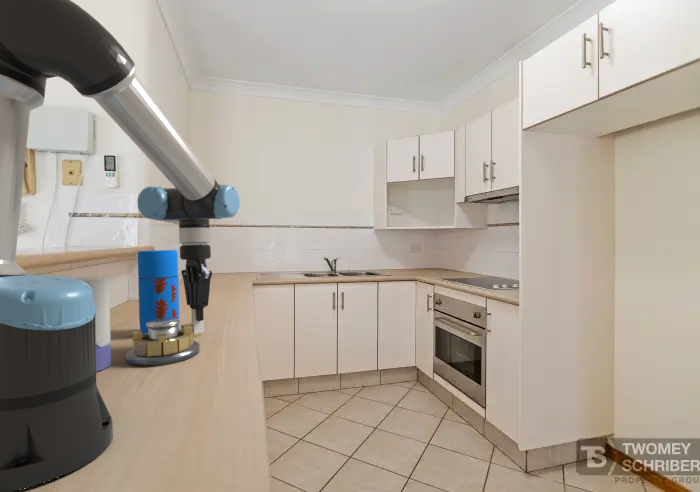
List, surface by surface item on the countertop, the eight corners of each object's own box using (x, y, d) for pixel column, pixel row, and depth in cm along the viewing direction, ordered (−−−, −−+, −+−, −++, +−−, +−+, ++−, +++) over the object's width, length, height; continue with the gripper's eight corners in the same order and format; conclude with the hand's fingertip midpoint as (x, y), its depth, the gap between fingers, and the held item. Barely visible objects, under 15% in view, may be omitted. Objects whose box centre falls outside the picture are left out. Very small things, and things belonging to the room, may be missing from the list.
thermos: (142, 330, 113) (139, 250, 113) (179, 326, 118) (177, 249, 117) (138, 338, 103) (135, 251, 103) (179, 334, 108) (177, 250, 107)
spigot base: (160, 370, 78) (159, 332, 78) (109, 362, 84) (108, 326, 84) (214, 348, 93) (214, 316, 93) (169, 342, 99) (168, 312, 99)
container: (98, 358, 86) (95, 275, 86) (120, 365, 81) (117, 277, 81) (46, 372, 78) (43, 280, 77) (67, 381, 73) (64, 282, 72)
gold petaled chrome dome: (162, 358, 80) (161, 338, 80) (120, 353, 84) (120, 334, 84) (220, 336, 98) (220, 319, 98) (184, 332, 102) (183, 316, 102)
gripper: (220, 243, 95) (223, 333, 95) (197, 244, 103) (200, 326, 103) (192, 244, 89) (195, 339, 89) (170, 245, 97) (173, 332, 98)
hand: (198, 332), depth 96 cm, fingers closed
